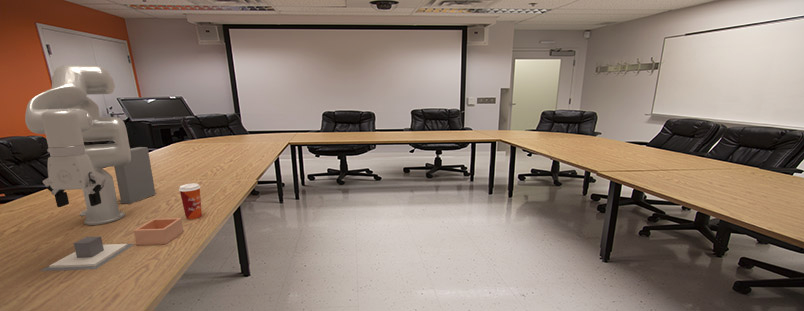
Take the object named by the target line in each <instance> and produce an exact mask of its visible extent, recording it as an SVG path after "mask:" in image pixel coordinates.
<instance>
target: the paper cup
mask: <svg viewBox="0 0 804 311" xmlns="http://www.w3.org/2000/svg"><path fill="white" fill-rule="evenodd" d="M178 192H179V194H180V198H181V202H182V206H183V211H184V216H185V218H186V220H189V219H191V220H196V218H197V219H199V218H202V215H203V214H202V201H201V186H200V184H199V183H196V182H195V183H193V182H192V183H186V184H182V185H180V186H179V189H178Z"/></svg>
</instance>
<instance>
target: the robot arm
mask: <svg viewBox="0 0 804 311" xmlns="http://www.w3.org/2000/svg"><path fill="white" fill-rule="evenodd" d="M51 82H52V83H51V88H50V89H47V90H44V91H43V92H40V93H39V94H37V95H35V96H33V98H31V99H30V100H29V101H28V103H27V106H26V109H25V116H24V117H25V119H24V121H25V125H26V127H27V129H28V130H29V131H31V132H32V133H33V134H37V135H45V138H46V142H47V147H48V148H47V149H46V151H47V153H49V155H50V157H48V158H47V176H48V177H47V178H45V179H44V180H42V183H43V184H44V185H45V187H46V189H47V190H48V191H49V192H50V193H51V195H53V196H54V199H55V203H56V207H57V208H62V207H65V206H68V205H69V204H70V200H69V196H68V193H67V191H66V190H70V191H72V190H82V192H83V197H84V202H85V207H86V209H83V210H81V212H79V217H85V219H84V221H83V222H84V225H87V226H95V225H96V226H97V225H99V226H100V225H104V224H108V223H113V222H115V221H118V220H120V219H122V218H124V217H125V215H126V213H125V212H124V211H121V210H120V209H119V208H120V207H119V204H118V198H117V192H116V186H115V182H114V179H113V176H112V174H111V173H110V172H108V171H107V170H105V168H110V167H111V168H112V167H114V166H121V165H126V164H129V163H130V161H131V152H130V149H131V147H130V142H129V137H128V131H127V127H126V124H125V122H124V120H123V119H122V118H120V117H117V116H116V117H113V116H111V117H109V116H108V117H101V114H100V109H99V105H98V104H97V103H96V102H95V101H94V100H93V99H91V98H89V97H88V95H89V96H90V95H111V94H112V93H114V90H115V82H114V79H113V77H112V76H111V74H110V73H109V71H108V70H107V69H105V68H104V67H103V66H100V65H87V64H85V65H81V64H79V65H78V64H65V65H60V66H58V67H56V68H55V70H54V71H53V74H52V75H51ZM107 141H111V142H114V143H103V144H102V143H101V144H100V143H99V144H88V145H85V143H89V142H90V143H92V142H93V143H95V142H107Z"/></svg>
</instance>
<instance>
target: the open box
mask: <svg viewBox="0 0 804 311" xmlns="http://www.w3.org/2000/svg"><path fill="white" fill-rule="evenodd" d="M183 226H184V224H183V220H182V218H181V217H178V218H177V217H176V218H173V217H172V218H153V219H151V220H149V221H147V222H146V223H144V224H142V225H141V226H139V227H137V228H135V229H134V230H133V234H134V235H133V236H134V240H135V245H136V246H148V245H149V246H150V245H167V244H168V243H170V242H172V240H174V239H176V238H177V237H178V236H180V235H182V233H184V231H185V230H184V227H183Z"/></svg>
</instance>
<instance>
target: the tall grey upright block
mask: <svg viewBox="0 0 804 311" xmlns="http://www.w3.org/2000/svg"><path fill="white" fill-rule="evenodd" d="M130 152H131V161H130V163H129V164H126V165H121V166H113V167H114V173H115V178H116V183H117V188H118V193H119V198H120V199H119V204H129V205H131V204H133V203H135V202H138V201H139V202H140V201H142V200H144V199H146V198H149V197H152V196H155V195H157V192H156V189H155V182H154V177H153V172H152V171H153V170H152V165H151V160H150V155H149V148H148V147H145V146H144V147H143V146H138V147H133V148H130Z"/></svg>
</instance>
